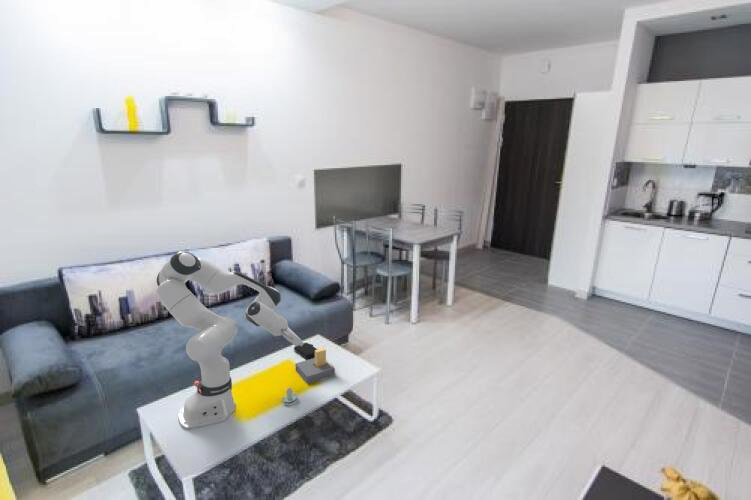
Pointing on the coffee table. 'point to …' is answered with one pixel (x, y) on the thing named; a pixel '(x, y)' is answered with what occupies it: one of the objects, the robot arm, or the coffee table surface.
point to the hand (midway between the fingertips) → (298, 340)
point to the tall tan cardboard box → (320, 357)
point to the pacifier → (290, 397)
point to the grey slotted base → (314, 370)
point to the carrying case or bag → (306, 350)
